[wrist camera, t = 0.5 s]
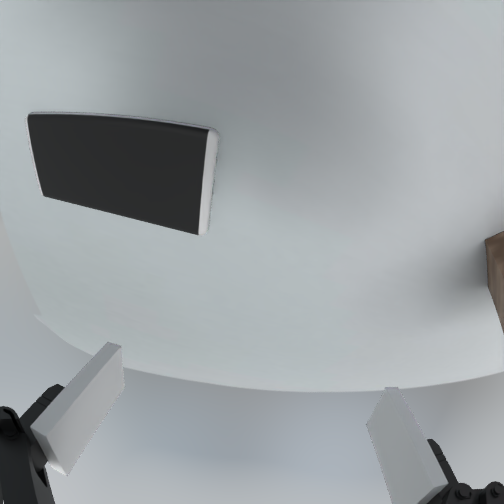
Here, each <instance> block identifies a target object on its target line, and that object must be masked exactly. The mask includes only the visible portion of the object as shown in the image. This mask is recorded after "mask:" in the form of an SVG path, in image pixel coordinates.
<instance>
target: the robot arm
mask: <svg viewBox="0 0 504 504" xmlns="http://www.w3.org/2000/svg"><path fill="white" fill-rule="evenodd" d="M124 388H125V385H124V375H123V363H122V349H121V346H120V345H117V344H113V343H110V342H107V343H106V344H105V345H104V346H103V347H102V349H101V350H100V351H99V352H98V353H97V354H96V355H95V356H94V357H93V358H92V359H91V360H90V361H89V362H88V363H87V364H86V365H85V366H84V368H83V369H82V370H81V371H80V372H79V373H78V374H77V375H76V376H75V377H74V378H73V379H72V381H70V383H69V384H68V385H67V386H66V387H63V386H61V385H59V384H56V385H54V386H52V387H50V388H48V389H47V390H46V391H45V392H44V393H43V394H42V396H41V397H39V398H38V399H37V400H36V402H35V403H33V405H32V406H31V407H30V408H29V409H28V410H27V411H26V412H25V413H24V414H23V415H22V416H21V417H20V418H19V417H18V415H17V413H16V412H15V411H14V410H13V409H11V408H9V407H5V406H2V407H0V504H3V500H4V504H55V502H54V498H53V495H52V491H51V488H50V484H49V480H48V476H47V472H46V468H45V464H46V463H47V461H48V462H49V464H50V465H51V467H52V468H53V469H55V470H56V471H58V472H60V473H62V474H63V475H65V476H68V474H69V473H70V471H71V470H72V468H73V466H74V465H75V463H76V462H77V460H78V458H79V457H80V455H81V454H82V452H83V451H84V449H85V447H86V446H87V444H88V443H89V441H90V440H91V438H92V437H93V435H94V433H95V432H96V430H97V429H98V427H99V426H100V424H101V423H102V421H103V420H104V418H105V417H106V415H107V414H108V412H109V410H110V409H111V407H112V406H113V404H114V403H115V401H116V400H117V398H118V397H119V395H120V394H121V392H122V391H123V390H124ZM366 425H367V428H368V431H369V434H370V437H371V440H372V443H373V446H374V448H375V451H376V454H377V457H378V460H379V463H380V466H381V469H382V473H383V476H384V479H385V482H386V485H387V488H388V491H389V495H390V498H391V501H392V504H504V486H503V484H501V483H500V482H496V481H495V482H491V483H490V484H488V485H487V486H486V487H485V488H484V489H471V487H470V486H469V485H467V484H465V483H458V481H457V479H456V477H455V475H454V473H453V471H452V469H451V467H450V465H449V464H448V462H447V461H446V458H445V456H444V455H443V452H442V450H441V448H440V446H439V445H438V444H437V443H436V442H435V441H434V440H433V439H428V440H427V439H426V437H425V436H424V434H423V432H422V430H421V428H420V426H419V424H418V422H417V421H416V419H415V417H414V415H413V413H412V411H411V410H410V408H409V406H408V404H407V402H406V400H405V399H404V397H403V395H402V394H401V392H400V390H399V388H398V387H386V388H385V390H384V392H383V394H382V396H381V398H380V400H379V402H378V404H377V406H376V408H375V409H374V411H373V413H372V415H371V417H370V419H369V420H368V422H367V424H366Z"/></svg>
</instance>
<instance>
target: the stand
mask: <svg viewBox="0 0 504 504" xmlns="http://www.w3.org/2000/svg"><path fill="white" fill-rule="evenodd" d="M485 244H486V255H487V270H488V288H489V291H490V293H491V296H492V299H493V302H494V304H495V307H496V310H497V313H498V316H499V319H500V323H501V326H502V329H503V333H504V231H503V232H501V233H499V234H497V235H495V236H492V237H490V238H488V239H486V240H485Z"/></svg>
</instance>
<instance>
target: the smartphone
mask: <svg viewBox="0 0 504 504" xmlns="http://www.w3.org/2000/svg"><path fill="white" fill-rule="evenodd" d="M25 124H26V130H27V136H28V142H29V147H30V152H31V157H32V162H33V166H34V170H35V174H36V178H37V182H38V186H39V190H40V193H41V194H42V195H43V196H45V197H49V198H53V199H57V200H61V201H65V202H69V203H73V204H77V205H81V206H85V207H89V208H93V209H97V210H101V211H105V212H109V213H113V214H117V215H121V216H124V217H128V218H132V219H136V220H140V221H144V222H148V223H152V224H156V225H160V226H164V227H168V228H172V229H176V230H180V231H184V232H188V233H192V234H195V235H200V236H203V235H205V234H207V232H208V230H209V224H210V214H211V205H212V197H213V193H212V188H213V183H214V180H215V172H216V164H217V159H216V156H217V154H218V149H219V141H220V135H219V133H218V131H217V130H215V129H213V128H210V127H204V126H199V125H193V124H187V123H180V122H174V121H167V120H160V119H152V118H143V117H134V116H124V115H112V114H98V113H77V112H32V113H30V114H28V115H27V116H26V118H25Z"/></svg>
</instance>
